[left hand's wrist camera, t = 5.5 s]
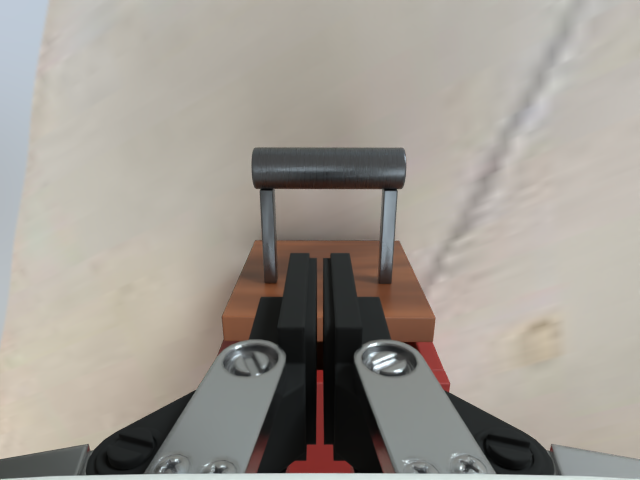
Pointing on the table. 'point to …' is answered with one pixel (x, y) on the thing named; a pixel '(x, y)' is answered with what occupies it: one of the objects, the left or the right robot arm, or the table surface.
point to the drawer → (366, 256)
